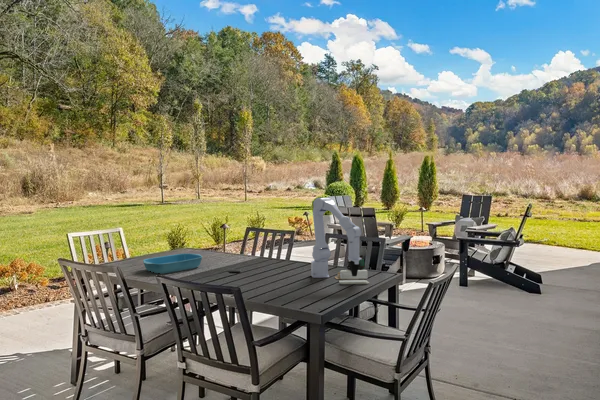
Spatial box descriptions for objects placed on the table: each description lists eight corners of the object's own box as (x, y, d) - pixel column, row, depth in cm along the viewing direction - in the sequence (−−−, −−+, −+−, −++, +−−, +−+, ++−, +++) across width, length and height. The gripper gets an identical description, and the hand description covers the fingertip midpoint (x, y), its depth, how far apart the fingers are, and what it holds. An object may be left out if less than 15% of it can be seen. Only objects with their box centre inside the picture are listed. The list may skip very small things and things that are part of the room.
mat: (340, 284, 223) (340, 283, 223) (338, 281, 229) (338, 280, 229) (369, 283, 224) (369, 282, 224) (366, 280, 231) (366, 280, 231)
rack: (336, 279, 234) (336, 274, 234) (334, 277, 239) (334, 272, 238) (365, 279, 235) (365, 273, 235) (363, 277, 240) (363, 271, 240)
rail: (341, 278, 225) (341, 271, 225) (340, 277, 227) (340, 270, 227) (367, 278, 226) (367, 270, 226) (366, 277, 229) (366, 269, 228)
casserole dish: (155, 277, 240) (155, 264, 240) (135, 271, 255) (135, 259, 255) (209, 267, 268) (209, 255, 268) (188, 262, 283) (188, 252, 283)
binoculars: (344, 257, 248) (352, 253, 256) (345, 275, 249) (353, 270, 257) (358, 258, 243) (366, 254, 251) (359, 276, 244) (367, 272, 252)
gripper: (364, 251, 219) (364, 278, 220) (358, 247, 234) (358, 272, 234) (350, 252, 219) (350, 278, 219) (345, 247, 233) (345, 272, 234)
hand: (353, 275), depth 227 cm, fingers closed on rail, 3 cm apart
